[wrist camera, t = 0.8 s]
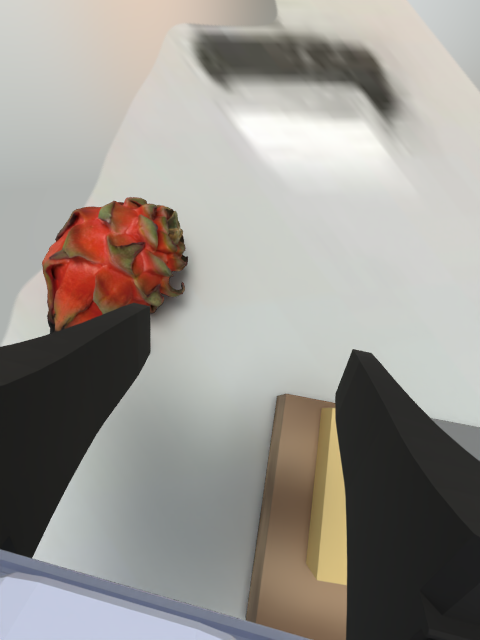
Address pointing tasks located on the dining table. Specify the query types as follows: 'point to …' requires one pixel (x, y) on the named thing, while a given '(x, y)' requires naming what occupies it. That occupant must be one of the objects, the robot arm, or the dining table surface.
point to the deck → (293, 532)
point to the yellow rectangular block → (328, 508)
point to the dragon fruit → (112, 261)
